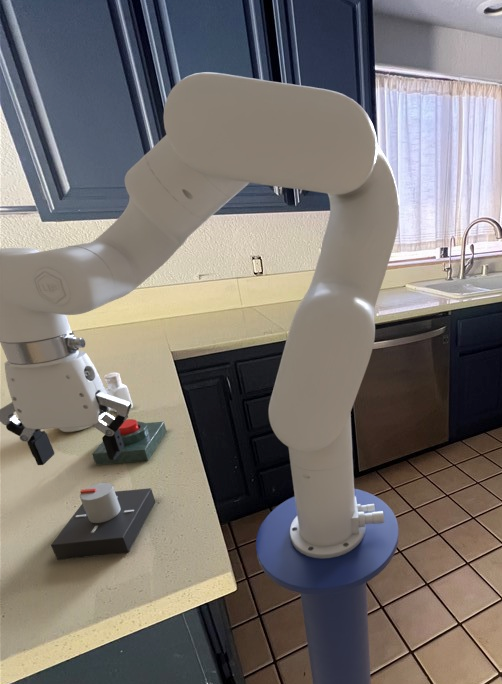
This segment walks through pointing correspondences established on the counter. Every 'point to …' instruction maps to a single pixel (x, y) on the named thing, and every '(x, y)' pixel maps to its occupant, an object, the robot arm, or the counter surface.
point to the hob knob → (100, 502)
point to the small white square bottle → (117, 388)
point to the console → (134, 444)
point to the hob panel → (105, 528)
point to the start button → (128, 427)
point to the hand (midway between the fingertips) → (81, 457)
